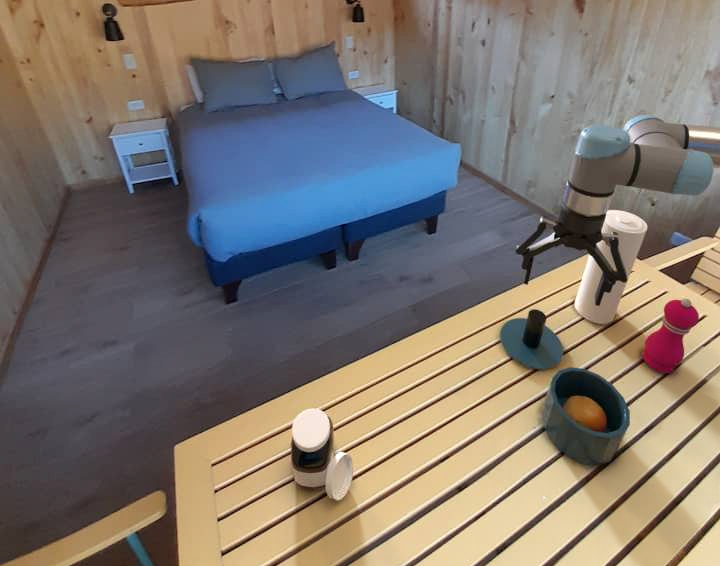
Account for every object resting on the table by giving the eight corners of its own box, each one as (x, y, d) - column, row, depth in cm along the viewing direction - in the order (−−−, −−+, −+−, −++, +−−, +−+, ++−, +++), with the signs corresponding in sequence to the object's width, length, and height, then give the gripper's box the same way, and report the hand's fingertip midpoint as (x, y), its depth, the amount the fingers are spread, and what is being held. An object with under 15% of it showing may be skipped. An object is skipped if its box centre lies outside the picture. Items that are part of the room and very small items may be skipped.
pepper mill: (633, 354, 97) (659, 293, 88) (652, 344, 99) (680, 283, 90) (663, 380, 91) (695, 317, 82) (683, 368, 93) (716, 306, 84)
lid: (565, 335, 102) (574, 306, 97) (558, 382, 91) (567, 352, 86) (506, 312, 109) (512, 285, 104) (493, 354, 97) (498, 325, 93)
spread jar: (300, 434, 82) (294, 399, 77) (355, 435, 81) (353, 400, 76) (288, 506, 71) (281, 470, 66) (352, 508, 71) (350, 472, 65)
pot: (616, 415, 84) (629, 387, 80) (615, 481, 74) (630, 452, 69) (547, 385, 90) (555, 357, 86) (536, 441, 80) (546, 412, 76)
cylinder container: (605, 330, 103) (640, 236, 89) (568, 308, 109) (595, 218, 96) (619, 310, 108) (653, 219, 95) (583, 291, 115) (610, 203, 101)
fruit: (591, 461, 75) (581, 419, 75) (558, 438, 82) (549, 400, 82) (621, 443, 77) (611, 402, 78) (586, 422, 85) (577, 384, 85)
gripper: (660, 212, 73) (627, 297, 83) (517, 183, 83) (502, 262, 93) (667, 235, 67) (631, 324, 77) (511, 201, 77) (496, 283, 87)
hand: (560, 290), depth 85 cm, fingers open, 13 cm apart
